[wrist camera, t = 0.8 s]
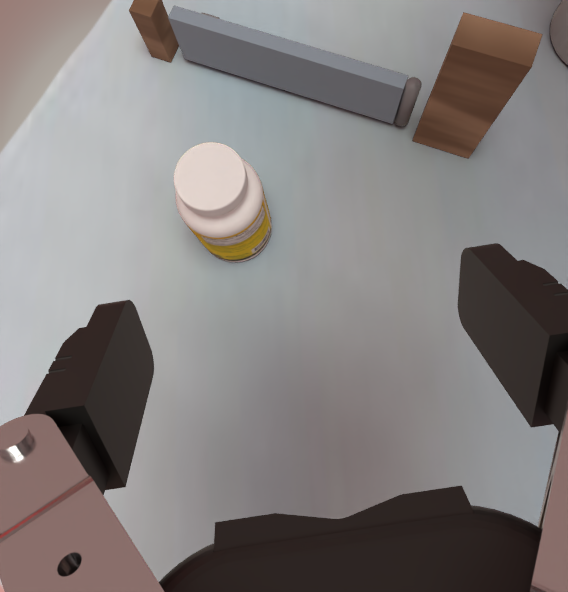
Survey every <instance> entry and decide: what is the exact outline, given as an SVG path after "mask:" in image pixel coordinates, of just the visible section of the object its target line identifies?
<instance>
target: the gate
mask: <svg viewBox="0 0 568 592" xmlns="http://www.w3.org/2000/svg"><path fill="white" fill-rule="evenodd" d="M168 19H169V21H170V24H171V26H172V29H173V31H174V34H175V36H176V39H177V41H178V44H179V46H180V49H181V51H182V54H183V56H184V59H187V60H190V61H193V62H196V63H199V64H203V65H206V66H209V67H212V68H215V69H219V70H222V71H225V72H228V73H231V74H235V75H238V76H241V77H244V78H247V79H250V80H254V81H257V82H260V83H263V84H266V85H270V86H273V87H276V88H279V89H282V90H286V91H289V92H292V93H295V94H298V95H302V96H305V97H308V98H311V99H314V100H318V101H321V102H324V103H327V104H330V105H334V106H337V107H340V108H343V109H346V110H349V111H353V112H356V113H359V114H362V115H365V116H369V117H372V118H375V119H378V120H381V121H385V122H388V123H391V124H393V122H394V119H395V123H396V124H397V125H398V126H405V125H407V124H408V121H409V119H410V116H411V113H412V110H413V108H414V105H415V102H416V99H417V97H418V94H419V91H420V88H421V81H420V80H419V79H418V78H415V77H412V78H409V79H408V75H405V74H402V73H398V72H395V71H392V70H388V69H385V68H382V67H378V66H375V65H372V64H368V63H365V62H362V61H358V60H355V59H351V58H348V57H345V56H341V55H338V54H335V53H331V52H328V51H325V50H321V49H318V48H315V47H311V46H308V45H305V44H301V43H298V42H295V41H291V40H288V39H285V38H281V37H278V36H275V35H271V34H268V33H264V32H261V31H258V30H254V29H251V28H248V27H244V26H241V25H238V24H234V23H231V22H228V21H224V20H221V19H219V17H215V16H212V15H209V14H205V13H198V12H194V11H191V10H188V9H184V8H181V7H177V6H173V8H172V10H171V12H170V14H169V17H168ZM407 79H408V80H407Z"/></svg>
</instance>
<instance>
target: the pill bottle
mask: <svg viewBox="0 0 568 592" xmlns="http://www.w3.org/2000/svg"><path fill="white" fill-rule="evenodd" d="M174 185H175V189H176V205H177V208H178V211H179V213H180V215H181V217H182V219H183V220H184V222H185V223H186V224H187V226H188V227H189V228H190V229H191V231H192V232H193V233H194V234H195V235H196V236H197V238H198V239H199V240H200V241H201V242H202V244H203V245H204V246H205V247H206V248H207V249H208V250H209V251H210V252H211V253H212V254H213V255H214V256H216V257H217V258H219V259H221V260H224V261H228V262H243V261H246V260H249V259H251V258H253V257H255V256H257V255H258V254H259V253H260V252H261V251H262V250H263V249H264V248H265V246H266V245H267V243H268V241H269V238H270V235H271V230H272V223H271V217H270V213H269V209H268V206H267V202H266V199H265V195H264V191H263V187H262V184H261V181H260V178H259V176H258V174H257V173H256V171H255V170H254V169H253V167H252V166H251V165H250V164H249V163H247V162H246V161H245V160H243V159H242V158H240V156H239V155H238V154H237V153H236V152H235V151H234V150H233V149H232V148H230V147H228V146H226V145H224V144H221V143H215V142H208V143H202V144H199V145H196V146H194V147H192V148H191V149H189V150H188V151H187V152H185V154H184V155H183V156H182V157H181V158H180V160H179V161H178V163H177V165H176V168H175V172H174Z"/></svg>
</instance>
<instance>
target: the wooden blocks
mask: <svg viewBox="0 0 568 592" xmlns="http://www.w3.org/2000/svg"><path fill="white" fill-rule="evenodd" d="M129 12H130V14H131V16H132V18H133V20H134V22H135V24H136V26H137V28H138V30H139V32H140V34H141V36H142V38H143V40H144V42H145V44H146V46H147V48H148V50H149V52H150V54H151V56H152V57H155V58H158V59H161V60H165V61H168V62H171V61H172V59H173V57H174V55H175V53H176V51H177V49H178V46H179V44H178V41H177V39H176V36H175V34H174V31H173V29H172V26H171V24H170V21H169V19H168V15H167V12H166V10H165V7H164V5H163V2H162V0H134V1H133V3H132V5H131V7H130V9H129ZM541 37H542V34H540V33H536V32H532V31H529V30H525V29H522V28H518V27H514V26H511V25H507V24H504V23H500V22H496V21H493V20H489V19H486V18H482V17H478V16H475V15H471V14H468V13H464V12H463V15H462V17H461V20H460V22H459V25H458V27H457V30H456V32H455V35H454V37H453V40H452V42H451V45H450V47H449V49H448V52H447V54H446V57H445V59H444V62H443V64H442V67H441V69H440V72H439V74H438V77H437V79H436V82H435V84H434V86H433V89H432V91H431V94H430V96H429V99H428V101H427V104H426V106H425V109H424V111H423V114H422V116H421V119H420V121H419V124H418V127H417V130H416V132H415V135H414V138H413V140H412V141H414V142H417V143H421V144H424V145H427V146H430V147H433V148H436V149H440V150H443V151H446V152H449V153H452V154H455V155H459V156H462V157H465V158H469V157H470V155H471V154H472V152H473V151H474V150H475V148H476V147H477V145H478V144H479V142H480V141H481V139H482V138H483V137H484V135H485V134H486V132H487V131H488V129H489V128H490V126H491V125H492V124H493V122H494V121H495V119H496V118H497V116H498V115H499V113H500V112H501V111H502V109H503V108H504V106H505V105H506V103H507V102H508V100H509V99H510V98H511V96H512V95H513V93H514V92H515V90H516V89H517V87H518V86H519V85H520V83H521V82H522V80H523V79H524V77H525V76H526V74H527V73H528V72H529V70H530V69H531V67H532V64H533V61H534V58H535V55H536V52H537V49H538V46H539V43H540V40H541Z"/></svg>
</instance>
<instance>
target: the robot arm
mask: <svg viewBox="0 0 568 592" xmlns="http://www.w3.org/2000/svg"><path fill="white" fill-rule="evenodd" d="M550 35H551V41H552V44H553V46H554V49H555V51H556V52H557V54H558V55H559V57H560V58H561V59H562V60H563V61H564V62H565V63H566V64H567V65H568V0H562V2H561V4H560V5H559V7H558V8H557V10H556V11H555V13H554V15H553V18H552V21H551V27H550ZM458 312H459V317H460V320H461V323H462V326H463V328H464V329H465V331H466V332H467V334H468V335H469V337H470V338H471V340H472V341H473V343H474V344H475V345H476V347H477V348H478V350H479V351H480V353H481V354H482V356H483V357H484V359H485V360H486V362H487V363H488V365H489V366H490V368H491V369H492V370H493V372H494V373H495V375H496V376H497V378H498V379H499V381H500V382H501V384H502V385H503V387H504V388H505V390H506V391H507V393H508V394H509V396H510V397H511V398H512V400H513V401H514V403H515V404H516V406H517V407H518V409H519V410H520V412H521V413H522V415H523V416H524V418H525V419H526V421H527V422H528V424H529V425H530V426H531V427H537V426H544V425H551V424H554V426H555V427H556V428H557V430H558V431H559V433H558V437H557V441H556V445H555V450H554V454H553V459H552V463H551V468H550V473H549V477H548V482H547V486H546V491H545V495H544V500H543V505H542V509H541V514H540V518H539V522H538V527H537V526H535V525H533V524H532V523H530V522H528V521H525V520H523V519H521V518H518V517H516V516H513V515H511V514H508V513H504V512H501V511H498V510H495V509H490V508H485V507H480V506H471V505H470V503H469V501H468V499H467V496H466V494H465V492H464V490H463V487H462V486H456V487H449V488H443V489H436V490H429V491H422V492H416V493H409V494H402V495H399V496H397V497H394V498H392V499H389V500H387V501H385V502H382V503H380V504H378V505H375V506H373V507H370V508H368V509H366V510H363V511H361V512H358V513H356V514H354V515H351V516H349V517H346V518H343V519H328V518H317V517H307V516H297V515H287V514H276V513H275V514H268V515H262V516H255V517H248V518H242V519H235V520H228V521H222V522H215V538H214V544H212V545H209V546H207V547H205V548H203V549H201V550H199V551H198V552H196V553H194V554H192V555H191V556H189V557H188V558H186V559H185V560H184V561H182V562H181V563H179V564H178V565H177V566H176V567H175V568H173V569H172V570H171V571H170V572H169V573H168V574H167V575H165V577H164V578H163V579H162V580H161V581H160V582H158V581H157V579H156V578H155V576H154V575H153V573H152V571H151V570H150V568H149V567H148V565H147V564H146V562H145V560H144V559H143V557H142V556H141V554H140V553H139V551H138V550H137V548H136V546H135V545H134V543H133V542H132V540H131V539H130V537H129V535H128V534H127V532H126V531H125V529H124V528H123V526H122V524H121V523H120V521H119V520H118V518H117V517H116V515H115V513H114V512H113V510H112V509H111V507H110V506H109V504H108V502H107V501H106V499H105V498H104V496H103V495H104V492H105V490H109V489H115V488H122V487H125V486H126V482H127V478H128V474H129V470H130V466H131V462H132V458H133V454H134V450H135V446H136V442H137V438H138V434H139V430H140V426H141V422H142V418H143V414H144V410H145V406H146V402H147V398H148V394H149V390H150V386H151V382H152V378H153V373H154V361H153V355H152V351H151V348H150V345H149V343H148V340H147V337H146V334H145V332H144V329H143V326H142V324H141V321H140V318H139V315H138V313H137V310H136V307H135V305H134V304H133V302H132V301H130V300H126V301H119V302H113V303H106V304H100V305H98V306H97V307H96V309H95V311H94V313H93V315H92V317H91V319H90V321H89V323H88V325H87V327H84V328H79V329H78V330H77V331H76V332H75V333H73V334H72V335H71V336H70V337H69V338H68V339H67V340H66V341H65V342H64V343H63V345H62V346H61V348H60V350H59V352H58V354H57V356H56V358H55V359H56V361H53V363H52V365H51V367H50V369H49V370H48V371H49V374H46V376H45V378H44V380H43V382H42V383H41V385H40V387H39V389H38V391H37V393H36V395H35V396H34V398H33V400H32V402H31V404H30V406H29V407H28V409H27V411H26V413H25V415H24V416H22V417H18V418H16V419H13V420H11V421H9V422H7V423H5V424H4V425H2V426H0V579H1V582H2V585H3V588H4V591H5V592H568V290H567V289H566V288H565V287H564V286H563V285H562V284H558V281H557V280H556V279H555V278H554V277H553V276H551V275H550V274H549V273H548V272H547V271H546V270H545V269H543V268H541V267H538V266H536V265H534V264H531V263H529V262H527V261H525V260H520V261H517V260H516V259H515V258H514V257H513V256H512V255H511V254H510V253H509V252H508V251H506V250H505V249H504V248H503V247H502V246H501V245H500V244H489V245H483V246H477V247H470V248H465V249H464V250H463V252H462V255H461V265H460V279H459V294H458Z"/></svg>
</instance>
